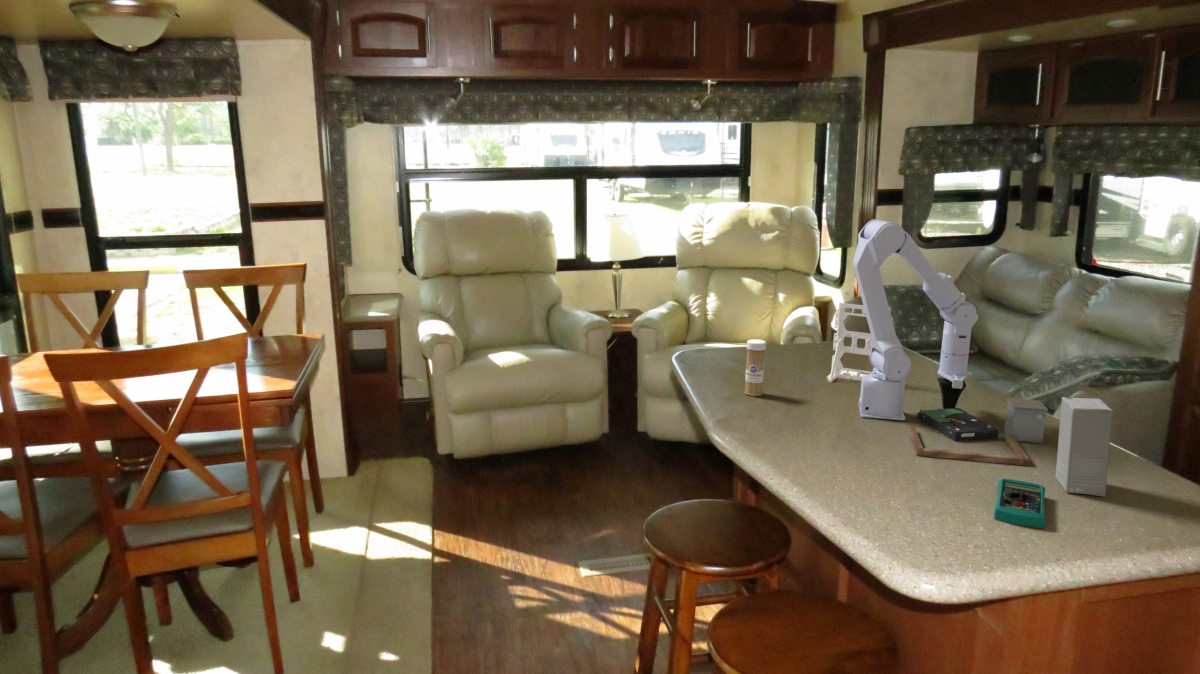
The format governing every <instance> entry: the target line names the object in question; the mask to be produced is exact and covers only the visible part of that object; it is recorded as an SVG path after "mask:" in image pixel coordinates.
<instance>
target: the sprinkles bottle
mask: <svg viewBox="0 0 1200 674" xmlns="http://www.w3.org/2000/svg"><path fill="white" fill-rule="evenodd" d="M766 349H767V342H766V341H765V340H763V339H757V338H756V339H753V338H752V339H748V340H747V341H746V350H747V351H746V364H745V386H744V387H745V388H744V392H743V393H744V394H745V395H747V396H749V397H760V396H762V395H763V393H764V391H763V389H764V387H763V386H764V376H765V375H764V374H765V356H766V353H765V352H766Z"/></svg>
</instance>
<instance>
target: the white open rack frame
mask: <svg viewBox="0 0 1200 674" xmlns="http://www.w3.org/2000/svg"><path fill="white" fill-rule="evenodd" d="M838 304H839V305H838V310H835V318H834V328H835V329H837V330H836V332H835V333H833V342H832V343H833V344H832V345H833V347H832V350H833V351H835V353H834V354H833V355H832V358H831V371H830V374H829V375H827V376H826V380H827V382H828V383H833V382H834V381H835V380H837V379H838V378H839V379H844V378H845V379H846V380H850V379H852V380H851V381H857V380H859V381H858V382H861V381H862V376H863V375H872V371H867V370H864V369H863V370H861V369H855V368H847V367H844V365H843V363H842V361H841V358H842V357H843V355H844V354H845V353H847V354H848V353H849V354H855V355H862V356H863V355H864V356H869V357H870V352H871V346H870V341H871V339H872V336H871V333H868V332H859V331H852V330H847V328H846V327H845V324H844V322H845V320H846V318H847V317H848V316H856V317H864V318H867V317H866V314H865V310H864V306H863V304H854V303H843V302H839V303H838ZM845 308H846V309H852V310H851V312H847V311H845ZM856 309H857V310H861V313H856V312H855V310H856ZM889 310H890V311H891V307H889ZM854 312H855V313H854ZM891 317H892V321H893V319H894V318H893V316H891ZM893 322H894V321H893ZM845 337H846V338H851V345H850V346H847V345H845V343H844V340H845ZM858 339H861V340H862V339H863V340H864V341H865V343H864V344H865V345H864V348H862V347H858V344H857V342H858V341H859V340H858Z"/></svg>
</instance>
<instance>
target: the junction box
mask: <svg viewBox="0 0 1200 674" xmlns="http://www.w3.org/2000/svg"><path fill="white" fill-rule="evenodd" d="M1006 402H1007V407H1006V414H1005V423H1004V433H1005V435H1006V434H1011V435H1013V436H1014V438H1015V439H1016V441H1017V442H1027V443H1035V444H1036V443H1039V444H1042V443H1043V441H1044V440H1043V438H1044V434H1045V433H1044V432H1045V427H1046V418H1047V413H1048V412H1049V409H1048V407H1046V405H1044V404H1043V402H1042V401H1041V400H1037V399H1024V398H1023V399H1022V398H1012V397H1011V398H1008V397H1007V398H1006Z"/></svg>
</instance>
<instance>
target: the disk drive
mask: <svg viewBox="0 0 1200 674" xmlns="http://www.w3.org/2000/svg"><path fill="white" fill-rule="evenodd" d="M916 419H917V420H918V421H919V420H920V421H919V422H920V423H922V422H923V424H924V423H925V424H924V425H926V424H927V425H926V426H928V427H929V426H930V428H931V427H932V429H933V430H934V429H935V431H936V430H937V431H936V432H938V431H939V432H938V433H940V434H941V433H942V435H943V434H944V435H943V436H945V437H946V436H947V439H950V440H951V439H952V440H951V441H953V442H967V441H969V442H970V441H971V442H972V441H990V440H998V439H999V435H1000V429H999V428H997V427H996V426H995V425H992V424H990V423H989V422H986V421H984V420H982V419H980V418H978V417H976V416H975V415H973V414H970V413H969V412H967V411H965V410H963V409H961V408H959V407H955V408H947V409H943V408H937V409H927V410H925V409H924V410H923V409H919V411H918V412H917V415H916Z"/></svg>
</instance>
